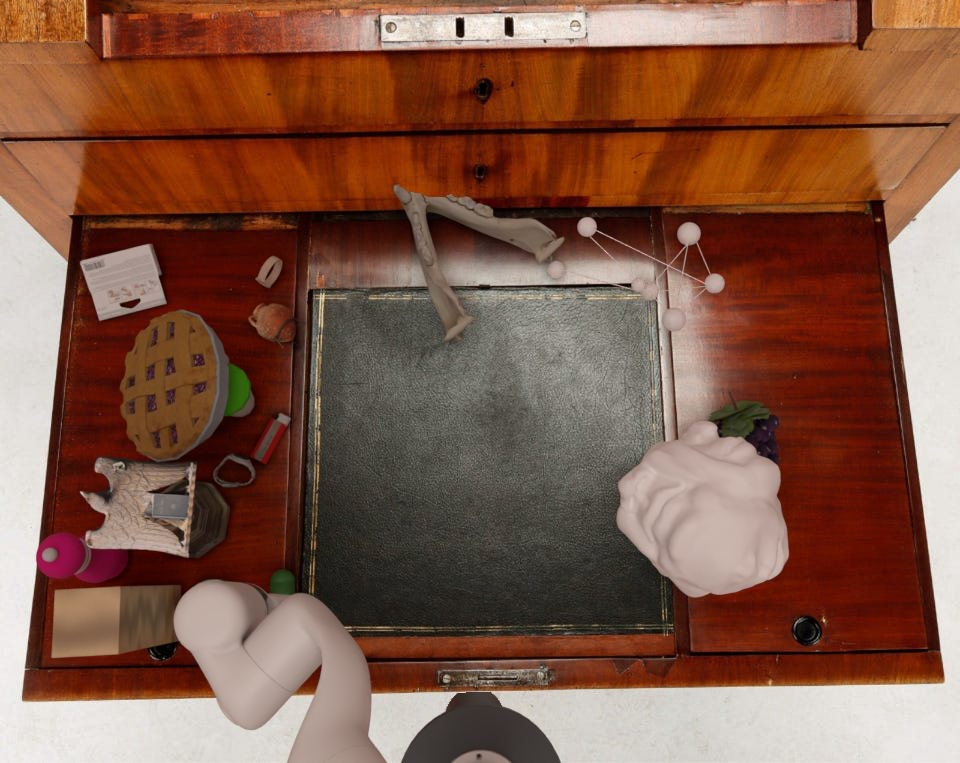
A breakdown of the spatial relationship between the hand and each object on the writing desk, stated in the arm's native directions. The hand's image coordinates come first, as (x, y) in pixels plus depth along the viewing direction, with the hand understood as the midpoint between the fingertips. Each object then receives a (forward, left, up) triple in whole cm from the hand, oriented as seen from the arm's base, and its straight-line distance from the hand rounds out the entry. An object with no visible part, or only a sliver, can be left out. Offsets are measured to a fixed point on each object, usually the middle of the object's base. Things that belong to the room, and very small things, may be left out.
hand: (272, 613), depth 118 cm
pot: (+46, -1, -10) cm, 47 cm away
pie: (+32, +13, -5) cm, 35 cm away
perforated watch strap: (+52, +3, -14) cm, 54 cm away
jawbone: (+56, -27, -14) cm, 63 cm away
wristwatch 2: (+18, +8, -13) cm, 24 cm away
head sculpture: (+2, -67, +5) cm, 67 cm away
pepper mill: (+9, +27, -14) cm, 32 cm away
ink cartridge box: (+56, +27, -11) cm, 63 cm away
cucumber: (+1, 0, -14) cm, 14 cm away
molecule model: (+57, -54, -10) cm, 79 cm away
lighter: (+22, +5, -13) cm, 26 cm away
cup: (+32, +8, -14) cm, 35 cm away
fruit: (+15, -71, -12) cm, 74 cm away
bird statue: (+15, +13, -14) cm, 24 cm away
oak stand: (0, +20, -14) cm, 25 cm away
